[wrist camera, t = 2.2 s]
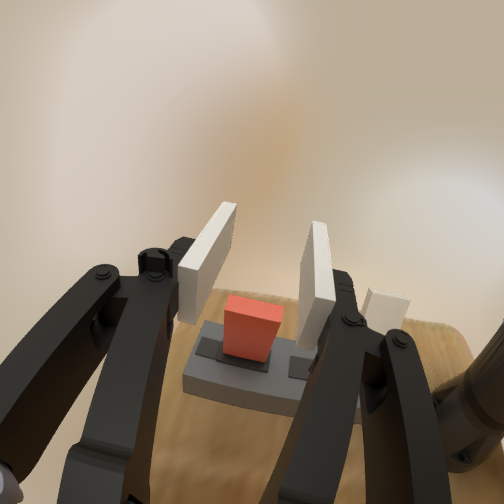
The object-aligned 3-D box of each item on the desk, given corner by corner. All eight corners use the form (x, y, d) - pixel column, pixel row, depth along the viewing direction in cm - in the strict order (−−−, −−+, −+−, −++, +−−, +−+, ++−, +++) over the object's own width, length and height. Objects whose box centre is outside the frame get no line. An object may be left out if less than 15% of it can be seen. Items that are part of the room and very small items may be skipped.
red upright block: (267, 351, 33) (285, 306, 25) (265, 364, 32) (282, 322, 24) (225, 342, 33) (228, 293, 25) (222, 354, 32) (223, 309, 24)
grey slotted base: (379, 373, 38) (393, 354, 35) (386, 425, 30) (404, 407, 28) (203, 340, 39) (205, 317, 37) (183, 391, 31) (182, 371, 29)
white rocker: (375, 372, 32) (405, 295, 30) (378, 379, 31) (411, 300, 28) (339, 367, 33) (367, 287, 30) (341, 374, 31) (371, 292, 29)
